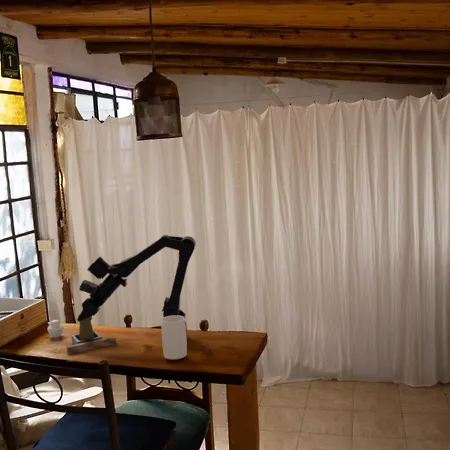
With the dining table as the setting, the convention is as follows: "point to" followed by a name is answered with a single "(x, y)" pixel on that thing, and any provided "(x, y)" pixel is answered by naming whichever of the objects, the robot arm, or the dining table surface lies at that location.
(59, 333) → the white vase
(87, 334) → the olive brown shaker
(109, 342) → the door edge strip
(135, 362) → the dining table surface
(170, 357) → the cup
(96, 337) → the collar
